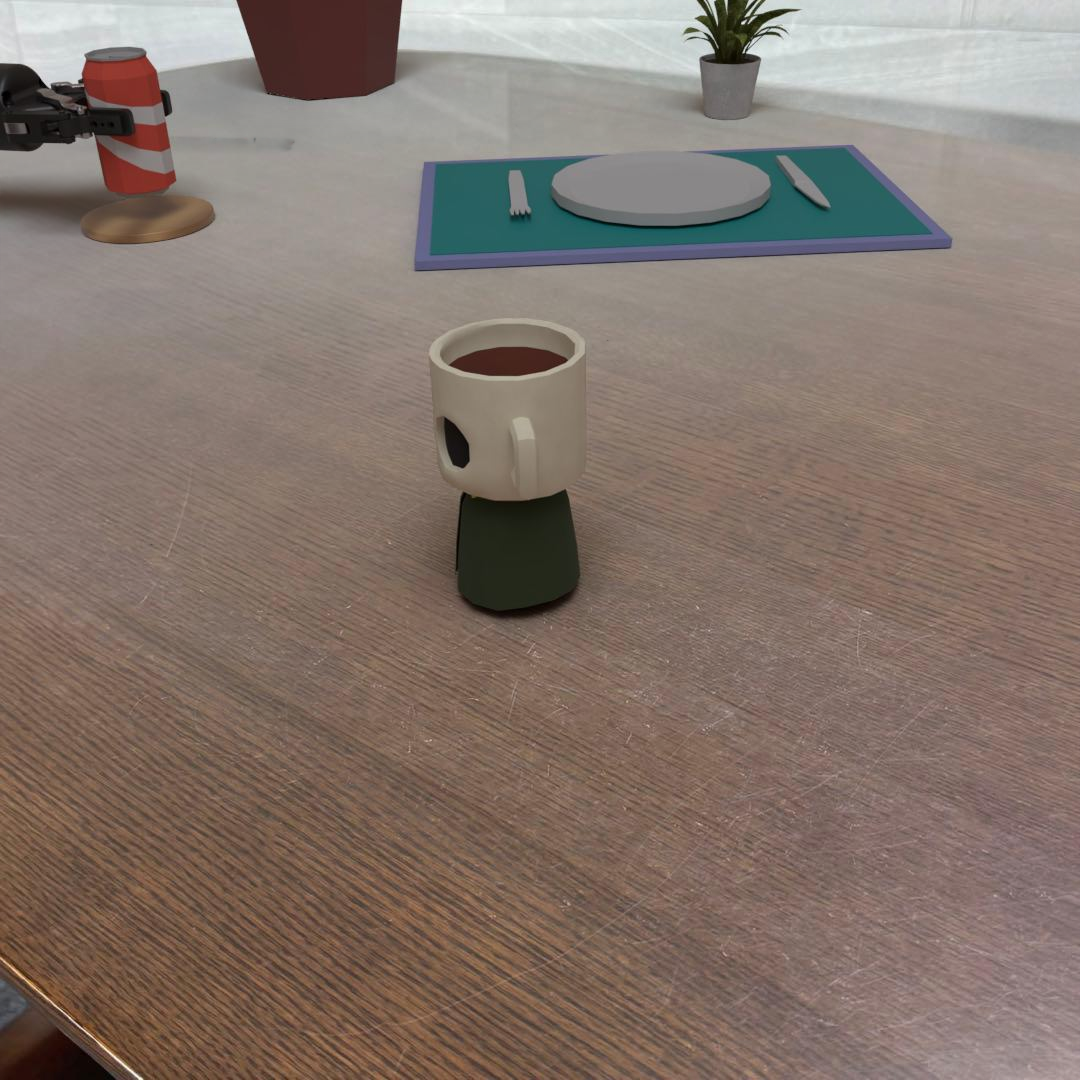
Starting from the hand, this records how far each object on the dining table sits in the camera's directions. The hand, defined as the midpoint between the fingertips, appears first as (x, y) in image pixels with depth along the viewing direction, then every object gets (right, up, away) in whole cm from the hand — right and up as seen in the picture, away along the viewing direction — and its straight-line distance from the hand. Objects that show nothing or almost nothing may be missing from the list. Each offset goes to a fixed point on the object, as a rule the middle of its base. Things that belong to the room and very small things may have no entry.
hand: (150, 112), depth 106 cm
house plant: (+56, +12, +34) cm, 66 cm away
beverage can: (-2, -6, +4) cm, 8 cm away
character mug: (+33, -40, -46) cm, 69 cm away
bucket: (+7, +22, +53) cm, 58 cm away
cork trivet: (-2, -8, +6) cm, 10 cm away
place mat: (+46, -6, +7) cm, 47 cm away
